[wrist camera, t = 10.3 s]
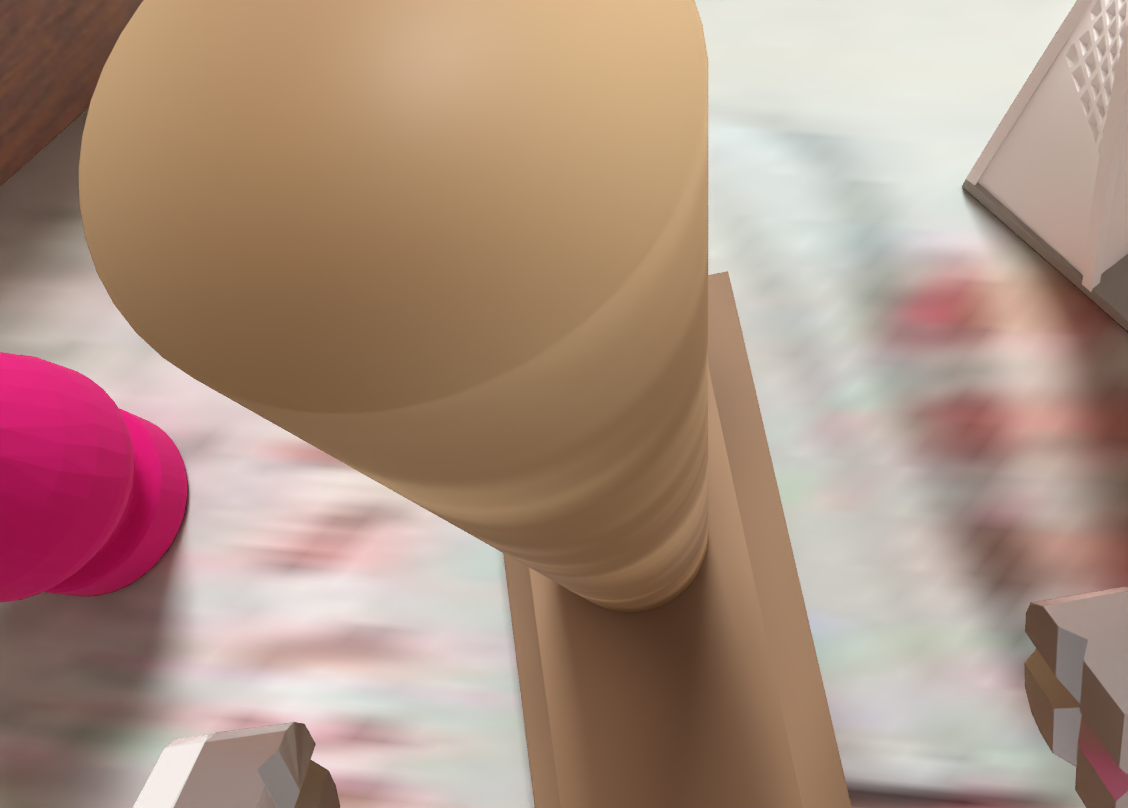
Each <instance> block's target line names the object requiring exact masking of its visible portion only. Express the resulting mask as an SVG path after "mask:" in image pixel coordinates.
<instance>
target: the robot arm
mask: <svg viewBox="0 0 1128 808" xmlns="http://www.w3.org/2000/svg"><path fill="white" fill-rule="evenodd" d="M1025 632H1026V633H1027V635H1028V636H1029V638H1030V639H1031V641H1032V642H1033V644H1034V645H1035V647H1036V648H1037V649H1036V650H1035V651H1034V652H1033V654H1032V655H1031V656H1030V657H1029V658H1028V660H1027V661H1026V662H1025V689H1026V693H1027V697H1028V700H1029V704H1030V708H1031V712H1032V715H1033V717H1034V719H1035V721H1036V724H1037V726H1038V728H1039V730H1040V733H1041V734H1042V736H1043V738H1044V739H1045V741H1046V743H1047V744H1048V746H1049V748H1050V749H1051V751H1052V753H1054V754H1055V755H1057V756H1059V757H1060V758H1062V759H1064V760H1066V761H1067V762H1069V763H1071V764H1072V765H1074V766H1076V786H1075V790H1076V791H1077V793H1078V795H1079V796H1080V798H1081V799H1082V801H1083V803H1084V804H1085V806H1086V807H1087V808H1128V587H1119V588H1114V589H1108V590H1102V591H1096V592H1090V593H1084V594H1078V595H1073V596H1067V597H1061V598H1055V599H1049V600H1043V601H1037V602H1031V603H1030V605H1029V608H1028V610H1027V612H1026V626H1025ZM314 747H315V742H314V740H313V738H312V737H311V735H310V733H309V731H308V729H307V728H306V726H305V724H302V723H296V722H291V723H284V724H276V725H269V726H261V727H254V728H247V729H239V730H232V731H224V732H217V733H215V734H210V735H202V736H194V737H186V738H179V739H176V740H174V741H173V742H172V743H170V744H169V745H168V746H167V747H165V748H164V750H163V752H162V753H161V755H160V757H159V759H158V761H157V763H156V765H155V767H154V769H153V770H152V772H151V774H150V776H149V778H148V780H147V782H146V784H145V785H144V787H143V789H142V791H141V793H140V795H139V797H138V799H137V800H136V802H135V804H134V806H133V808H340V803H339V798H338V794H337V789H336V785H335V783H334V781H333V779H332V777H331V775H330V772H329V771H328V770H327V769H325V768H323V767H322V766H320V765H319V764H317V763H315V762H314V761H312V760H310V759H311V756H312V753H313V750H314Z"/></svg>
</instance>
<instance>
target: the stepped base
mask: <svg viewBox="0 0 1128 808" xmlns="http://www.w3.org/2000/svg"><path fill="white" fill-rule="evenodd" d="M503 554H504V562H505V570H506V578H507V586H508V594H509V602H510V610H511V618H512V626H513V634H514V642H515V650H516V659H517V667H518V675H519V683H520V691H521V699H522V707H523V715H524V723H525V731H526V739H527V747H528V756H529V764H530V772H531V780H532V788H533V796H534V804H535V808H851V803H850V799H849V795H848V790H847V786H846V782H845V777H844V773H843V768H842V764H841V760H840V755H839V751H838V747H837V742H836V738H835V734H834V729H833V725H832V721H831V716H830V712H829V708H828V703H827V699H826V695H825V690H824V686H823V682H822V677H821V673H820V669H819V664H818V660H817V656H816V651H815V647H814V643H813V638H812V634H811V630H810V625H809V621H808V617H807V612H806V608H805V604H804V599H803V595H802V591H801V586H800V582H799V578H798V573H797V569H796V565H795V560H794V556H793V552H792V547H791V543H790V539H789V534H788V530H787V526H786V521H785V517H784V513H783V508H782V504H781V499H780V495H779V491H778V486H777V482H776V478H775V473H774V469H773V465H772V460H771V456H770V452H769V447H768V443H767V439H766V434H765V430H764V426H763V421H762V417H761V413H760V408H759V404H758V400H757V395H756V391H755V387H754V382H753V378H752V374H751V369H750V365H749V361H748V356H747V352H746V348H745V343H744V339H743V335H742V330H741V326H740V322H739V317H738V313H737V309H736V304H735V300H734V296H733V291H732V287H731V283H730V278H729V274H728V271H727V272H722V273H717V274H713V275H708V543H707V551H706V554H705V558H704V561H703V564H702V566H701V568H700V570H699V572H698V574H697V576H696V577H695V579H694V580H693V581H692V583H691V584H690V585H689V586H688V588H687V589H686V590H685V591H684V592H682V593H681V594H680V595H679V596H678V597H676V598H675V599H674V600H672V601H670V602H669V603H667V604H665V605H663V606H661V607H658V608H655V609H653V610H648V611H644V612H636V613H625V612H617V611H611V610H608V609H605V608H602V607H600V606H598V605H596V604H593V603H592V602H590V601H588V600H586V599H584V598H583V597H581V596H579V595H577V594H576V593H574V592H572V591H570V590H568V589H567V588H565V587H563V586H561V585H560V584H558V583H556V582H554V581H552V580H551V579H549V578H547V577H545V576H544V575H542V574H540V573H538V572H537V571H535V570H533V569H531V568H529V567H528V566H526V565H524V564H522V563H521V562H519V561H517V560H515V559H513V558H512V557H510V556H508V555H506V554H505V553H503Z"/></svg>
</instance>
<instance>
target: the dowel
mask: <svg viewBox="0 0 1128 808" xmlns="http://www.w3.org/2000/svg"><path fill="white" fill-rule="evenodd" d="M79 202H80V211H81V216H82V222H83V227H84V233H85V238H86V242H87V245H88V248H89V251H90V253H91V256H92V259H93V262H94V265H95V268H96V271H97V273H98V275H99V277H100V279H101V281H102V283H103V284H104V286H105V288H106V290H107V292H108V294H109V296H110V298H111V299H112V301H113V303H114V305H115V306H116V307H117V308H118V310H119V311H120V312H121V314H122V315H123V316H124V318H125V319H126V320H127V321H128V323H129V324H130V325H131V327H132V328H133V329H134V331H135V332H136V333H137V334H138V335H139V336H140V337H141V338H143V339H144V340H145V341H146V342H147V343H148V344H149V345H150V346H151V347H152V348H153V349H154V350H155V351H156V352H158V353H159V354H160V355H161V356H162V357H163V358H164V359H166V360H167V361H169V362H170V363H172V364H173V365H175V366H176V367H178V368H179V369H181V370H182V371H184V372H185V373H187V374H188V375H190V376H191V377H193V378H194V379H196V380H198V381H199V382H201V383H203V384H205V385H207V386H208V387H210V388H212V389H214V390H215V391H217V392H219V393H221V394H223V395H224V396H226V397H228V398H230V399H231V400H233V401H235V402H237V403H239V404H240V405H242V406H244V407H246V408H247V409H249V410H251V411H253V412H254V413H256V414H258V415H260V416H262V417H263V418H265V419H267V420H269V421H270V422H272V423H274V424H276V425H278V426H279V427H281V428H283V429H285V430H286V431H288V432H290V433H292V434H293V435H295V436H297V437H299V438H301V439H302V440H304V441H306V442H308V443H309V444H311V445H313V446H315V447H317V448H318V449H320V450H322V451H324V452H325V453H327V454H329V455H331V456H333V457H334V458H336V459H338V460H340V461H341V462H343V463H345V464H347V465H348V466H350V467H352V468H354V469H356V470H357V471H359V472H361V473H363V474H364V475H366V476H368V477H370V478H372V479H373V480H375V481H377V482H379V483H380V484H382V485H384V486H386V487H388V488H389V489H391V490H393V491H395V492H396V493H398V494H400V495H402V496H403V497H405V498H407V499H409V500H411V501H412V502H414V503H416V504H418V505H419V506H421V507H423V508H425V509H427V510H428V511H430V512H432V513H434V514H435V515H437V516H439V517H441V518H443V519H444V520H446V521H448V522H450V523H451V524H453V525H455V526H457V527H458V528H460V529H462V530H464V531H466V532H467V533H469V534H471V535H473V536H474V537H476V538H478V539H480V540H482V541H483V542H485V543H487V544H489V545H490V546H492V547H494V548H496V549H497V550H499V551H501V552H503V553H505V554H506V555H508V556H510V557H512V558H513V559H515V560H517V561H519V562H521V563H522V564H524V565H526V566H528V567H529V568H531V569H533V570H535V571H537V572H538V573H540V574H542V575H544V576H545V577H547V578H549V579H551V580H552V581H554V582H556V583H558V584H560V585H561V586H563V587H565V588H567V589H568V590H570V591H572V592H574V593H576V594H577V595H579V596H581V597H583V598H584V599H586V600H588V601H590V602H592V603H593V604H596V605H598V606H600V607H602V608H605V609H608V610H611V611H617V612H625V613H636V612H644V611H648V610H653V609H655V608H658V607H661V606H663V605H665V604H667V603H669V602H670V601H672V600H674V599H675V598H676V597H678V596H679V595H680V594H681V593H682V592H684V591H685V590H686V589H687V588H688V586H689V585H690V584H691V583H692V581H693V580H694V579H695V577H696V576H697V574H698V572H699V570H700V568H701V566H702V564H703V561H704V558H705V554H706V551H707V543H708V57H707V51H706V44H705V38H704V32H703V25H702V22H701V19H700V16H699V13H698V10H697V7H696V4H695V1H694V0H143V2H142V3H141V4H140V6H139V7H138V9H137V10H136V12H135V13H134V15H133V16H132V18H131V19H130V21H129V22H128V24H127V25H126V27H125V28H124V30H123V31H122V33H121V34H120V36H119V38H118V40H117V42H116V44H115V46H114V48H113V50H112V52H111V54H110V56H109V57H108V59H107V61H106V63H105V65H104V67H103V70H102V72H101V75H100V78H99V80H98V83H97V86H96V88H95V91H94V94H93V96H92V99H91V102H90V106H89V110H88V114H87V118H86V122H85V127H84V131H83V135H82V143H81V152H80V162H79Z"/></svg>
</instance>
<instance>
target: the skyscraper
mask: <svg viewBox="0 0 1128 808" xmlns="http://www.w3.org/2000/svg"><path fill="white" fill-rule="evenodd" d="M962 187H963V188H964V189H965V190H967V191H968V192H969V193H970V194H971V195H972V196H973V197H975V198H976V199H977V200H978V201H979V202H980V203H981V204H983V205H984V206H985V207H986V208H987V209H988V210H989V211H991V212H992V213H993V214H994V215H995V216H996V217H997V218H999V219H1000V220H1001V221H1002V222H1003V223H1004V224H1005V225H1007V226H1008V227H1009V228H1010V229H1011V230H1012V231H1013V232H1015V233H1016V234H1017V235H1018V236H1019V237H1020V238H1021V239H1023V240H1024V241H1025V242H1026V243H1027V244H1028V245H1029V246H1031V247H1032V248H1033V249H1034V250H1035V251H1036V252H1037V253H1039V254H1040V255H1041V256H1042V257H1043V258H1044V259H1045V260H1047V261H1048V262H1049V263H1050V264H1051V265H1052V266H1053V267H1054V268H1056V269H1057V270H1058V271H1059V272H1060V273H1061V274H1062V275H1064V276H1065V277H1066V278H1067V279H1068V280H1069V281H1070V282H1072V283H1073V284H1074V285H1075V286H1076V287H1077V288H1078V289H1080V290H1081V291H1082V292H1083V293H1084V294H1085V295H1086V296H1088V297H1089V298H1090V299H1091V300H1092V301H1093V302H1094V303H1096V304H1097V305H1098V306H1099V307H1100V308H1101V309H1102V310H1104V311H1105V312H1106V313H1107V314H1108V315H1109V316H1110V317H1112V318H1113V319H1114V320H1115V321H1116V322H1117V323H1118V324H1120V325H1121V326H1122V327H1123V328H1124V329H1125V330H1126V331H1128V0H1077V1H1076V3H1075V4H1074V6H1073V8H1072V9H1071V11H1070V12H1069V14H1068V15H1067V17H1066V18H1065V20H1064V22H1063V23H1062V25H1061V26H1060V28H1059V29H1058V31H1057V32H1056V34H1055V36H1054V37H1053V39H1052V40H1051V42H1050V44H1049V45H1048V47H1047V49H1046V50H1045V52H1044V53H1043V55H1042V57H1041V58H1040V60H1039V61H1038V63H1037V65H1036V66H1035V68H1034V69H1033V71H1032V73H1031V74H1030V76H1029V77H1028V79H1027V81H1026V82H1025V84H1024V86H1023V87H1022V89H1021V90H1020V92H1019V94H1018V95H1017V97H1016V98H1015V100H1014V102H1013V103H1012V105H1011V106H1010V108H1009V110H1008V111H1007V113H1006V114H1005V116H1004V118H1003V119H1002V121H1001V123H1000V124H999V126H998V127H997V129H996V131H995V132H994V134H993V136H992V137H991V139H990V140H989V142H988V144H987V145H986V147H985V149H984V150H983V152H982V154H981V155H980V157H979V158H978V160H977V162H976V163H975V165H974V167H973V168H972V170H971V172H970V173H969V175H968V176H967V178H966V180H965V182H964V184H963V185H962Z"/></svg>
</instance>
